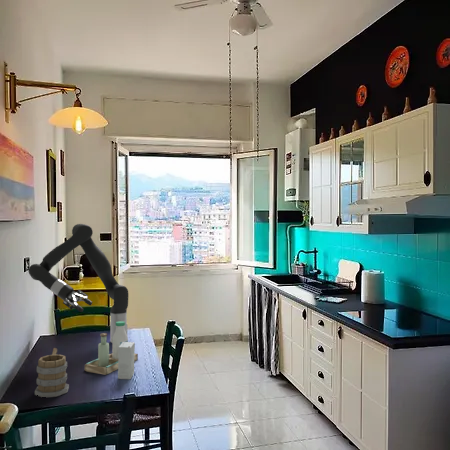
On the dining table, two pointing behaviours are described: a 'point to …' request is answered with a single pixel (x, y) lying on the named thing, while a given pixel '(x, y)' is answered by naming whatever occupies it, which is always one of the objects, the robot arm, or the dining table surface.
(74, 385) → the dining table surface
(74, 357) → the dining table surface
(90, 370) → the frame
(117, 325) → the milk bottle
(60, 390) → the tankard
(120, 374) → the skincare box
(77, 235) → the robot arm
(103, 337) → the sage bottle
